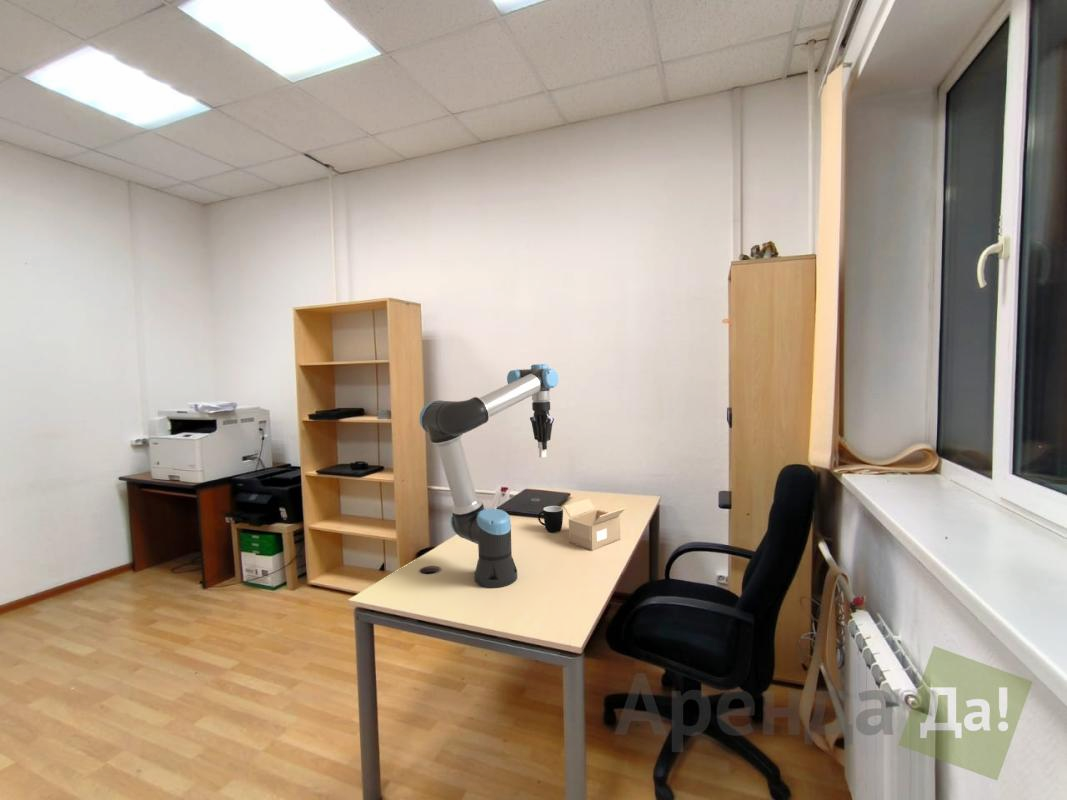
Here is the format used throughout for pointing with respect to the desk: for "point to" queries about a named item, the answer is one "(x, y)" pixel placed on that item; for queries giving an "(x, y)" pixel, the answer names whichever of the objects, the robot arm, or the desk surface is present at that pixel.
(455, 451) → the robot arm
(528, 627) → the desk surface
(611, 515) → the right flap
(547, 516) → the mug
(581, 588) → the desk surface
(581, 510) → the left flap
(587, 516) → the carton
